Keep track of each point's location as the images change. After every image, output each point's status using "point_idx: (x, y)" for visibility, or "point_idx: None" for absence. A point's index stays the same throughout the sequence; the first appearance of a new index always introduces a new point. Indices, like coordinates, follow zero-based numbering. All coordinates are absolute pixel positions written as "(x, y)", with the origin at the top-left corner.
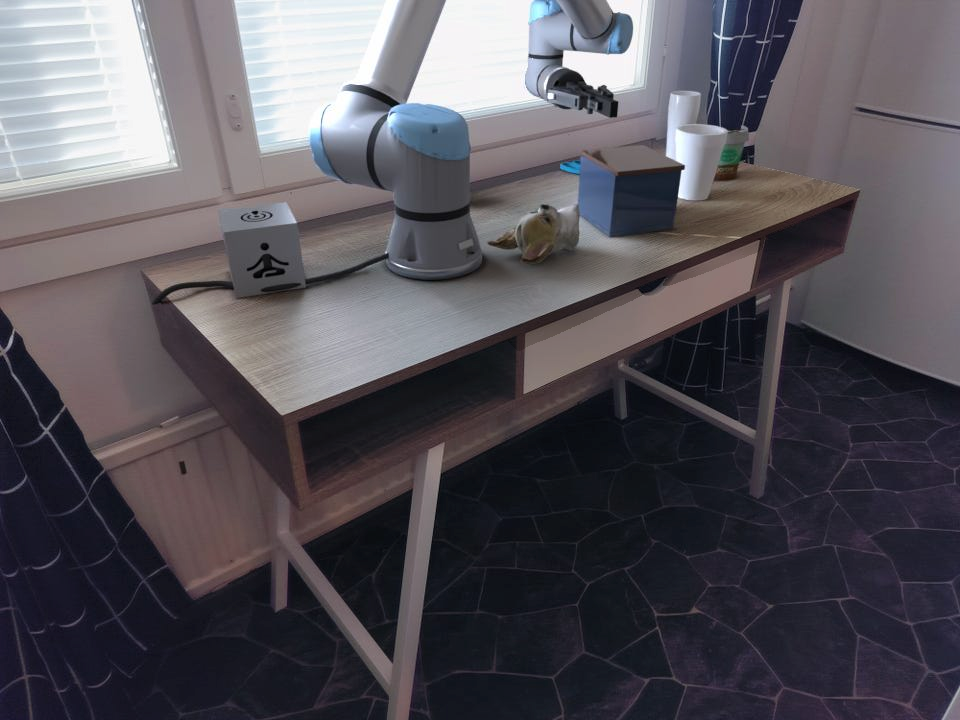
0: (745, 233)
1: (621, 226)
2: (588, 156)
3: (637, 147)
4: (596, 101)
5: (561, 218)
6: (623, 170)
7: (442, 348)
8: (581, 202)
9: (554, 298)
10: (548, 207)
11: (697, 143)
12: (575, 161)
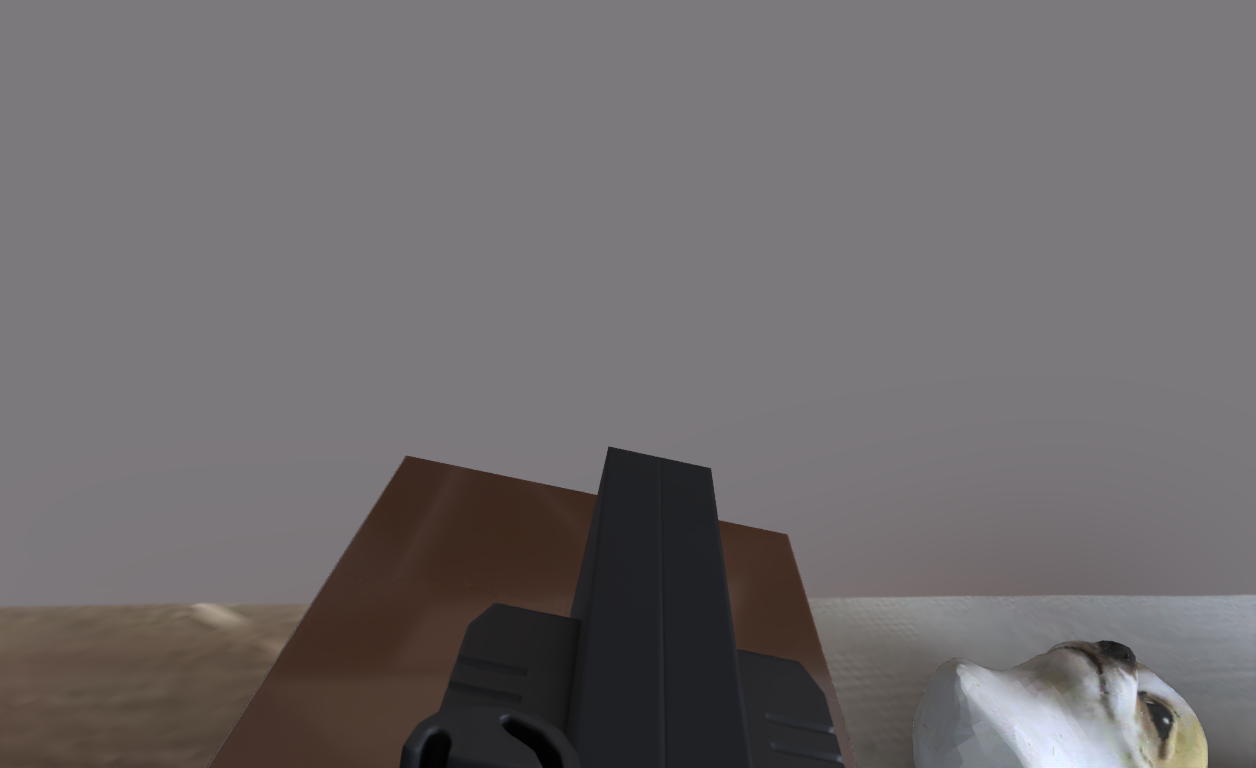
0: (127, 611)
1: None
2: None
3: (334, 747)
4: (783, 727)
5: (1021, 671)
6: (753, 532)
7: (1231, 602)
8: None
9: (1005, 622)
10: (1098, 642)
11: None
12: None
